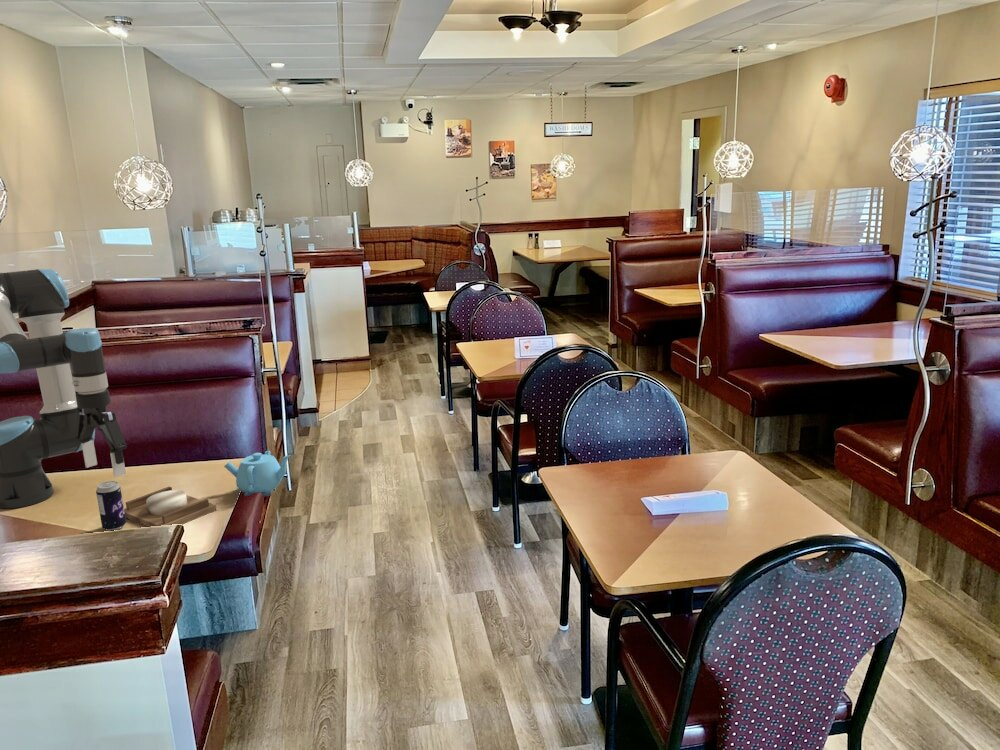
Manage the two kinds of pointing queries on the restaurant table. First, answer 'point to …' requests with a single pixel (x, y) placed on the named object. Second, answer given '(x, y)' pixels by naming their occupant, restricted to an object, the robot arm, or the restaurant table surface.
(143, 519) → the brown wooden tray
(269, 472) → the teapot
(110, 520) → the beverage can
